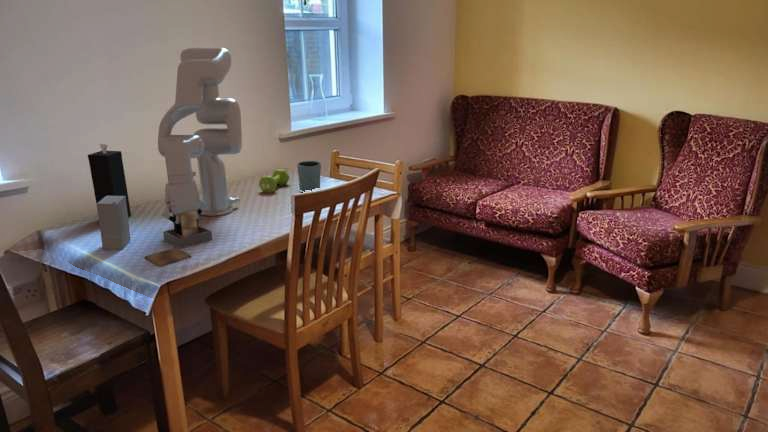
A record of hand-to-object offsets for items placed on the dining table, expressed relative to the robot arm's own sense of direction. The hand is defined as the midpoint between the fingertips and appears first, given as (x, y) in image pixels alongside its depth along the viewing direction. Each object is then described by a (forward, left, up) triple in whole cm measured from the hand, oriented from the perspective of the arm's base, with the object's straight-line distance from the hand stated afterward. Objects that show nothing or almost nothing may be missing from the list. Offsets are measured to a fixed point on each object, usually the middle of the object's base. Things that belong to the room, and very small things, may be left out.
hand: (187, 231), depth 188 cm
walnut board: (+12, +10, -3) cm, 16 cm away
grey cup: (-66, -17, -3) cm, 68 cm away
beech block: (0, 0, -3) cm, 3 cm away
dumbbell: (-58, -32, -3) cm, 66 cm away
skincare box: (+18, -12, -3) cm, 22 cm away
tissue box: (+7, -41, -3) cm, 42 cm away
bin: (0, 0, -3) cm, 3 cm away
